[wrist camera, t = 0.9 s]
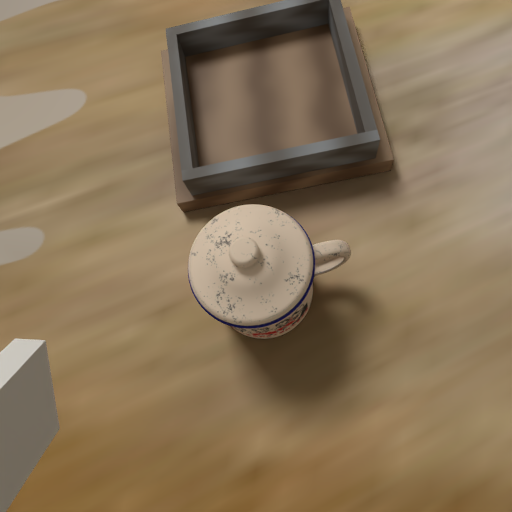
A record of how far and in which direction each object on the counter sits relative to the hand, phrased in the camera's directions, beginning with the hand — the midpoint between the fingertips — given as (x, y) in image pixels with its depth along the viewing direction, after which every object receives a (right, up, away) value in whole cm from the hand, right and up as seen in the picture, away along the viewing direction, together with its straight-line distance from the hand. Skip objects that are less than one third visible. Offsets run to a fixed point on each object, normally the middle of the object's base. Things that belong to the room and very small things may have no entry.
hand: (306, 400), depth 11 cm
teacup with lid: (+1, +1, +28) cm, 28 cm away
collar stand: (0, +18, +33) cm, 38 cm away
